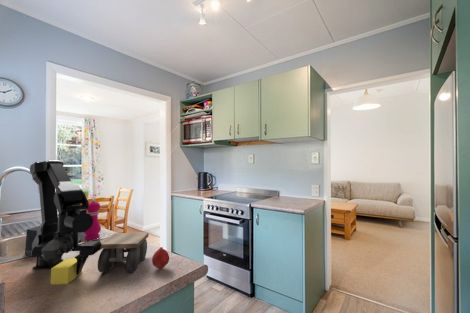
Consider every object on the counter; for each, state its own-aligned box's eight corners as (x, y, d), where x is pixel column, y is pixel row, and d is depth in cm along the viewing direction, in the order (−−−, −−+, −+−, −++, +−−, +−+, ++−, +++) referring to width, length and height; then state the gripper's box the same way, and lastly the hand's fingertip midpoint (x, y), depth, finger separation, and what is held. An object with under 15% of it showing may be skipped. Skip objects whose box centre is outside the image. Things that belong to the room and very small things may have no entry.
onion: (148, 269, 77) (149, 246, 78) (163, 264, 82) (164, 242, 82) (156, 275, 73) (157, 251, 74) (172, 269, 78) (172, 246, 78)
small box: (36, 256, 87) (37, 230, 88) (23, 255, 88) (25, 229, 89) (62, 246, 97) (63, 223, 98) (50, 245, 99) (51, 222, 99)
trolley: (94, 277, 72) (95, 246, 72) (116, 256, 88) (117, 231, 88) (134, 275, 73) (135, 245, 73) (149, 255, 89) (149, 231, 89)
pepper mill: (88, 236, 111) (90, 197, 112) (103, 236, 112) (104, 197, 112) (79, 241, 104) (81, 199, 105) (95, 241, 105) (97, 199, 105)
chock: (50, 284, 67) (51, 268, 68) (66, 273, 74) (66, 258, 75) (67, 284, 68) (68, 268, 68) (81, 272, 75) (82, 258, 75)
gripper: (15, 235, 63) (13, 290, 62) (83, 234, 64) (81, 287, 64) (46, 224, 74) (44, 271, 73) (103, 224, 76) (101, 269, 75)
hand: (67, 274), depth 71 cm, fingers open, 7 cm apart
